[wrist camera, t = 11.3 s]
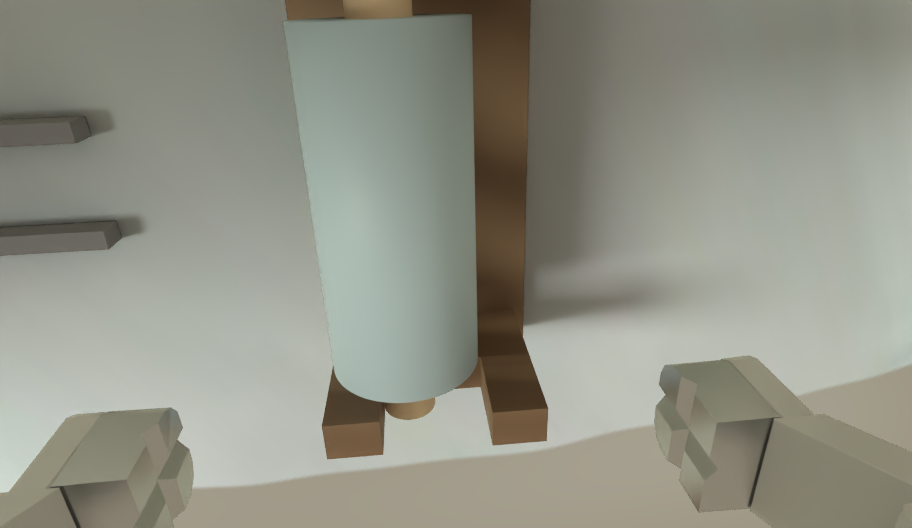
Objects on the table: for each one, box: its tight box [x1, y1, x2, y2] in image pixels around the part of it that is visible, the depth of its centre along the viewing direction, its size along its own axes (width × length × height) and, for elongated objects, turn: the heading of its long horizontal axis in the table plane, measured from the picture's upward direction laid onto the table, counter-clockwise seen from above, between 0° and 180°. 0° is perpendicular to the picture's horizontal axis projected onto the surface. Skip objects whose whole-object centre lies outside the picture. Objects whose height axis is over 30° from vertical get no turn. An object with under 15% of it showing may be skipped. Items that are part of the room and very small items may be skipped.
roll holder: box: [285, 0, 548, 459], centre depth 21 cm, size 17×9×8 cm, turn 2°
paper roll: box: [283, 0, 478, 420], centre depth 20 cm, size 16×6×6 cm
